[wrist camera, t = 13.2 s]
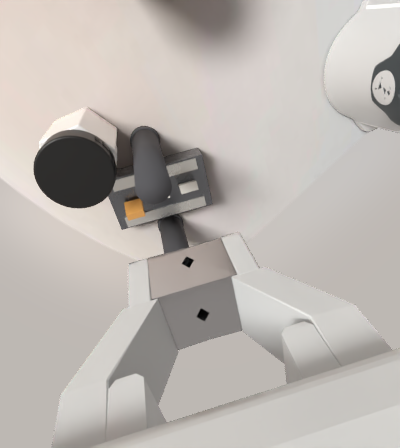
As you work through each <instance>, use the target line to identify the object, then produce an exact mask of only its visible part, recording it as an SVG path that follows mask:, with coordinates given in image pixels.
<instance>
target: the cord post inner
mask: <svg viewBox="0 0 400 448" xmlns="http://www.w3.org/2000/svg"><path fill="white" fill-rule="evenodd" d="M130 143H131V147H132V151H133V165H134V180H135V191H136V194H137V196H138V197H139V199H140V200H142V201H143V202H145V203H148V204H159V203H162V202H163V201H165V200H166V199H167V198H168V197H169V196H170V194H171V191H172V184H171V180H170V177H169V174H168V170H167V167H166V164H165V160H164V157H163V154H162V150H161V147H160V139H159V136H158V134H157V132H156V131H155V130H154V129H153V128H151V127H148V126H141V127H138V128H136V129H135V130H134V131H133V133H132V134H131V138H130Z"/></svg>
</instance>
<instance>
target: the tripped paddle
mask: <svg viewBox="0 0 400 448" xmlns="http://www.w3.org/2000/svg"><path fill="white" fill-rule="evenodd" d="M124 205H125V212H126V216H127V218H128V220H133V219H136V218H140V217H144V216H145V211H144V206H143V202H142V200H140V199H135V200H132V201H128V202H125V203H124Z"/></svg>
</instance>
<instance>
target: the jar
mask: <svg viewBox="0 0 400 448" xmlns="http://www.w3.org/2000/svg"><path fill="white" fill-rule="evenodd" d="M116 144H117V128H116V127H115V126H113V125H112V124H111V123H109V122H108V121H106V120H105V119H103V118H102V117H100V116H99V115H98V114H96V113H95V112H93V111H92V110H90V109H89V108H88V107H85V108H82V109H80V110H78V111H75V112H73V113H71V114H68V115H66V116H64V117H62V118H59V119H57V120H55V121H54V122H53V124H52V125H51V126H50V128H49V129H48V130H47V132H46V133H45V135H44V136H43V137H42V139H41V140H40V141H39V149H40V150H39V151H38V153H37V155H36V157H35V161H34V175H35V179H36V182H37V184H38V186H39V187H40V189H41V190H42V191H43V193H44V194H45V195H46V196H47V197H49V198H50V199H51V200H53V201H54V202H56V203H58V204H60V205H63V206H66V207H71V208H87V207H91V206H94V205H96V204H98V203H100V202H102V201H103V200H104V199H105V198H106V197H107V196H108V195H109V194H110V193H111V191H112V189H113V187H114V184H115V181H116V175H117V168H116V167H117V147H116Z"/></svg>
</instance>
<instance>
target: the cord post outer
mask: <svg viewBox="0 0 400 448" xmlns="http://www.w3.org/2000/svg"><path fill="white" fill-rule="evenodd" d="M158 228H159V231H160V232H161V238H162V243H163V249H164V254H165V253H169V252H172V251H176V250H180V249H185V248H189V245H188V242H187V239H186V235H185V232H184V229H183V221H182V218H181V217H180V215H178V214H176V215H172V216H169V217H165V218H162V219H159V220H158Z"/></svg>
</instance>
